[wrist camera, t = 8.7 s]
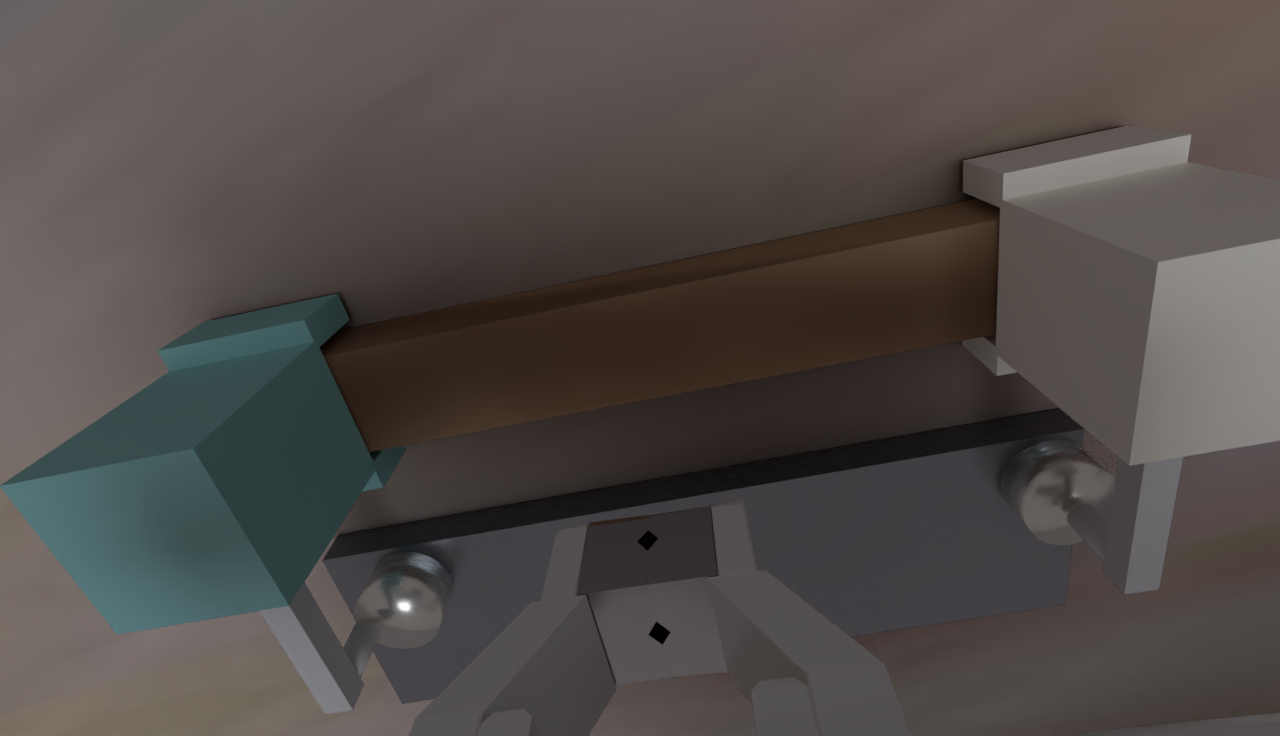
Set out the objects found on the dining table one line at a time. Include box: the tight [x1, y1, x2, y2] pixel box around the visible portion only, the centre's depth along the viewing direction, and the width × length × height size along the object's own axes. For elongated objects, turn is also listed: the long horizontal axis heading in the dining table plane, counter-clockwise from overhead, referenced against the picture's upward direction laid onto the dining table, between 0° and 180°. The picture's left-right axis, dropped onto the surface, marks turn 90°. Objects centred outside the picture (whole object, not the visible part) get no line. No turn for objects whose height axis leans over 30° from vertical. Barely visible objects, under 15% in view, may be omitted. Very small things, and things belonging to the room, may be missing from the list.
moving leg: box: [0, 293, 406, 714], centre depth 17 cm, size 10×4×7 cm, turn 12°
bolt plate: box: [322, 409, 1115, 704], centre depth 21 cm, size 7×24×3 cm, turn 102°
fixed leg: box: [962, 125, 1280, 595], centre depth 15 cm, size 10×4×7 cm, turn 12°
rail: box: [319, 198, 1000, 452], centre depth 17 cm, size 3×24×2 cm, turn 102°
